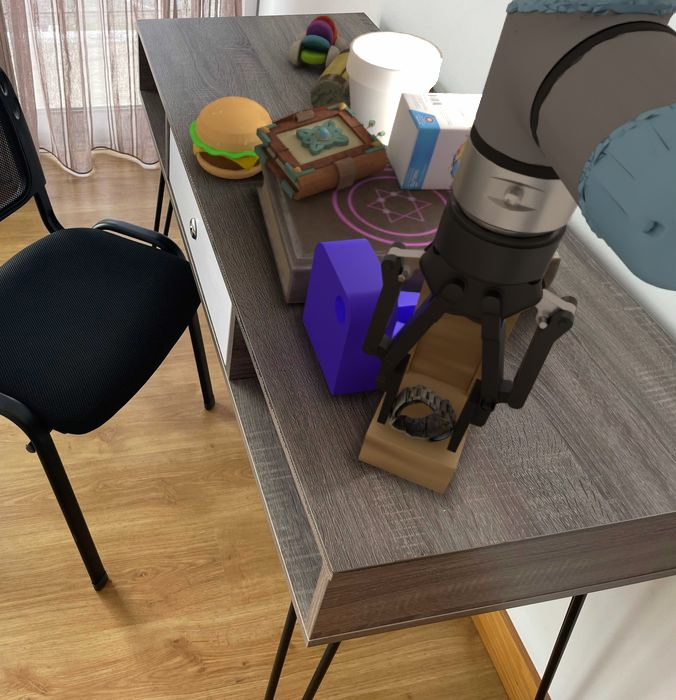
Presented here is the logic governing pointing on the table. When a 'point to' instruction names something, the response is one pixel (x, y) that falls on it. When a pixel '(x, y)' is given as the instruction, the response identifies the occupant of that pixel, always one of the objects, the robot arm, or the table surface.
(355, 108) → the cup
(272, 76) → the table surface
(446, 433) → the wristwatch
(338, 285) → the bracket
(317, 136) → the decorative book
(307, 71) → the table surface
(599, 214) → the robot arm
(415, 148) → the ink box
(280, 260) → the book
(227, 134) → the hamburger
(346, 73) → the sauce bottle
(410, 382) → the two-tone angled block
